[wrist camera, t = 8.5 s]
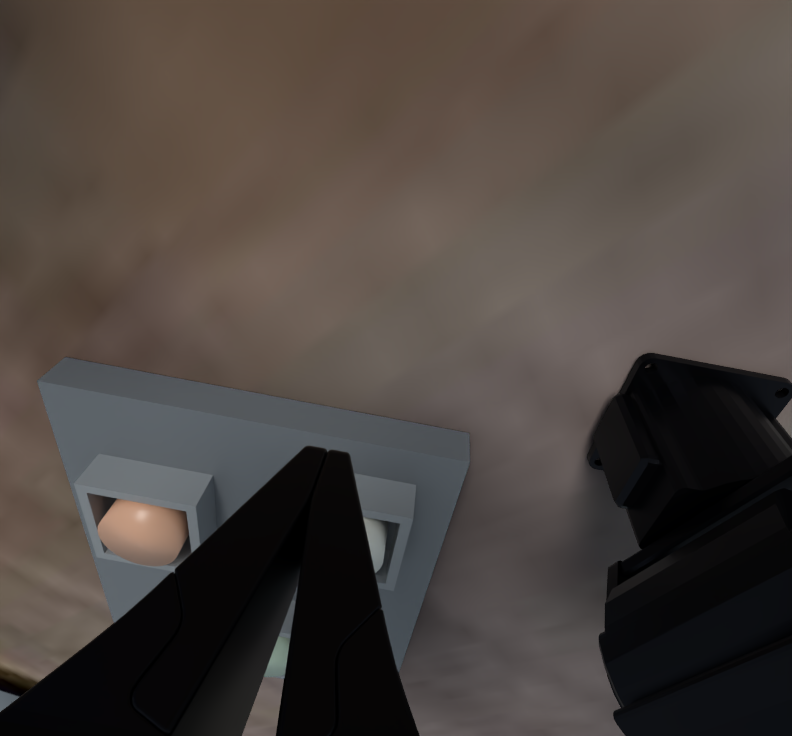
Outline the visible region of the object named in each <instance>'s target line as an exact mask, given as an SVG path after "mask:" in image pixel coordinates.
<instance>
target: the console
mask: <svg viewBox="0 0 792 736" xmlns="http://www.w3.org/2000/svg"><path fill="white" fill-rule="evenodd" d="M37 382H38V386H39V389H40V392H41V395H42V398H43V401H44V404H45V408H46V411H47V414H48V417H49V420H50V423H51V426H52V430H53V433H54V436H55V439H56V442H57V445H58V448H59V452H60V455H61V458H62V461H63V464H64V467H65V470H66V474H67V477H68V480H69V483H70V486H71V489H72V492H73V496H74V499H75V502H76V505H77V508H78V511H79V514H80V518H81V521H82V524H83V527H84V530H85V533H86V536H87V540H88V543H89V546H90V549H91V552H92V555H93V558H94V562H95V565H96V568H97V571H98V574H99V577H100V580H101V584H102V587H103V590H104V593H105V596H106V599H107V602H108V606H109V609H110V612H111V615H112V618H113V621H114V623H115V622H116V621H117V620H118V619H120V618H121V617H122V616H123V615H125V614H126V613H127V612H128V611H129V610H130V609H131V608H132V607H134V606H135V605H136V604H137V603H138V602H139V601H140V600H141V599H143V598H144V597H145V596H146V595H147V594H148V593H149V592H150V591H151V590H153V589H154V588H155V587H156V586H157V585H158V584H159V583H160V582H161V581H162V580H163V579H164V578H165V577H166V576H167V575H168V574H169V573H171V572H174V573H175V568H176V567H177V566H178V565H179V564H180V563H182V562H183V561H184V560H185V559H186V558H187V557H188V556H189V555H190V554H191V553H192V552H193V551H194V550H195V549H196V548H197V547H199V546H200V545H201V544H202V543H203V542H204V541H205V540H206V539H207V538H208V537H209V536H210V535H211V534H212V533H213V532H215V531H216V530H217V529H218V528H219V527H220V526H221V525H222V524H223V523H224V522H225V521H226V520H227V519H228V518H229V517H230V516H232V515H233V514H234V513H235V512H236V511H237V510H238V509H239V508H240V507H241V506H242V505H243V504H244V503H245V502H246V501H247V500H249V499H250V498H251V497H252V496H253V495H254V494H255V493H256V492H257V491H258V490H259V489H260V488H261V487H262V486H263V485H265V484H266V483H267V482H268V481H269V480H270V479H271V478H272V477H273V476H274V475H275V474H276V473H277V472H278V471H279V470H280V469H282V468H283V467H284V466H285V465H286V464H287V463H288V462H289V461H290V460H291V459H292V458H293V457H294V456H295V455H296V454H298V453H299V452H300V451H301V450H302V449H303V448H304V447H305V446H308V445H310V446H315V447H321V448H325V449H326V450H327V452H328V451H329V450H331V449H332V450H338V451H343V452H348V453H349V454H350V457H351V461H352V466H353V471H354V476H355V480H356V485H357V490H358V495H359V499H360V504H361V509H362V514H363V517H367V518H373V519H378V520H383V521H388V532H387V539H386V546H385V553H384V560H383V564H382V566H381V568H380V569H379V570H378V571H377V572H376V573H375V575H376V580H377V585H378V589H379V594H380V599H381V604H382V610H383V612H384V617H385V621H386V626H387V631H388V635H389V639H390V643H391V647H392V651H393V655H394V659H395V663H396V666H397V670H398V673H399V671H400V668H401V665H402V662H403V659H404V656H405V653H406V650H407V647H408V644H409V641H410V638H411V635H412V632H413V629H414V626H415V624H416V621H417V618H418V615H419V612H420V609H421V606H422V603H423V600H424V597H425V594H426V591H427V588H428V585H429V582H430V579H431V576H432V573H433V570H434V567H435V564H436V561H437V558H438V556H439V553H440V550H441V547H442V544H443V541H444V538H445V535H446V532H447V529H448V526H449V523H450V520H451V517H452V514H453V511H454V508H455V505H456V502H457V499H458V496H459V493H460V490H461V488H462V485H463V482H464V479H465V476H466V473H467V470H468V467H469V464H470V441H469V433H467V432H461V431H456V430H451V429H445V428H440V427H435V426H429V425H424V424H419V423H413V422H408V421H403V420H397V419H392V418H387V417H382V416H376V415H371V414H366V413H360V412H355V411H350V410H344V409H339V408H334V407H328V406H323V405H318V404H312V403H307V402H302V401H296V400H291V399H286V398H281V397H275V396H270V395H265V394H259V393H254V392H249V391H243V390H238V389H233V388H227V387H222V386H217V385H211V384H206V383H201V382H196V381H190V380H185V379H180V378H174V377H169V376H164V375H158V374H153V373H148V372H142V371H137V370H132V369H126V368H121V367H116V366H111V365H105V364H100V363H95V362H89V361H84V360H79V359H73V358H68V357H65V358H64V359H62V360H61V361H60V362H59V363H58V364H56V365H55V366H54V367H53V368H52V369H51V370H49V371H48V372H47V373H46V374H45V375H43V376H42V377H41V378H40V379H39V380H37ZM116 499H123V500H128V501H133V502H139V503H144V504H149V505H155V506H160V507H165V508H171V509H176V510H181V511H186V514H187V521H188V529H189V535H188V537H187V539H186V541H185V543H184V544H183V546H182V548H181V550H180V552H179V554H178V556H177V558H176V559H175V560H174V561H173V562H171V563H170V564H167V565H163V566H145V565H140V564H136V563H133V562H130V561H128V560H125V559H123V558H121V557H120V556H118V555H116V554H115V553H113V552H112V551H111V550H109V549H108V548H107V547H106V546H105V545H104V544H103V542H102V541H101V539H100V537H99V535H98V525H99V523H100V521H101V520H102V518H103V517H104V516H105V514H106V513H107V512H108V510H109V509H110V507H111V506H112V505H113V503H114V502H115V501H116ZM297 588H298V586H297ZM297 588H296V591H295V594H294V596H293V599H292V602H291V604H290V607H289V610H288V612H287V615H286V618H285V621H284V623H283V626H282V629H281V631H280V634H279V636H280V637H286V638H290V636H291V629H292V622H293V615H294V609H295V602H296V595H297ZM284 677H285V674H284V675H282V676H278V677H276V678H282V679H284Z"/></svg>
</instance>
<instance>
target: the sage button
mask: <svg viewBox="0 0 792 736" xmlns="http://www.w3.org/2000/svg"><path fill="white" fill-rule="evenodd" d="M289 643H290V638H286V637H280V636H279V637H278V639H277V642H276V645H275V647H274V650H273V653H272V655H271V658H270V661H269V663H268V666H267V669H266V672H265V674H264V677H278V676H282V675H284V674H285V670H286V663H287V657H288V650H289Z"/></svg>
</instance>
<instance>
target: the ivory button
mask: <svg viewBox="0 0 792 736" xmlns="http://www.w3.org/2000/svg"><path fill="white" fill-rule="evenodd" d="M363 518H364V523H365V528H366V533H367V537H368V542H369V547H370V551H371V556H372V561H373V566H374V570H375V573H376V572H377V571H378V570H379V569H380V568H381V566H382V564H383V560H384V553H385V546H386V539H387V532H388V521H383V520H378V519H373V518H367V517H363Z"/></svg>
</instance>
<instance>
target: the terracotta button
mask: <svg viewBox="0 0 792 736" xmlns="http://www.w3.org/2000/svg"><path fill="white" fill-rule="evenodd" d="M98 535H99V537H100V539H101V541H102V542H103V544H104V545H105V546H106V547H107V548H108V549H109V550H111V551H112V552H113V553H115V554H116V555H118V556H120V557H121V558H123V559H125V560H128V561H130V562H133V563H136V564H140V565H145V566H163V565H167V564H170V563H171V562H173V561H174V560H175V559H176V558H177V556H178V554H179V552H180V550H181V548H182V546H183V544H184V543H185V541H186V539H187V537H188V535H189V529H188V521H187V514H186V511H181V510H176V509H171V508H165V507H160V506H155V505H149V504H144V503H139V502H133V501H128V500H123V499H116V501H115V502H114V503H113V505H112V506H111V507H110V509H109V510H108V512H107V513H106V514H105V516H104V517H103V518H102V520H101V521H100V523H99V525H98Z"/></svg>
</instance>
